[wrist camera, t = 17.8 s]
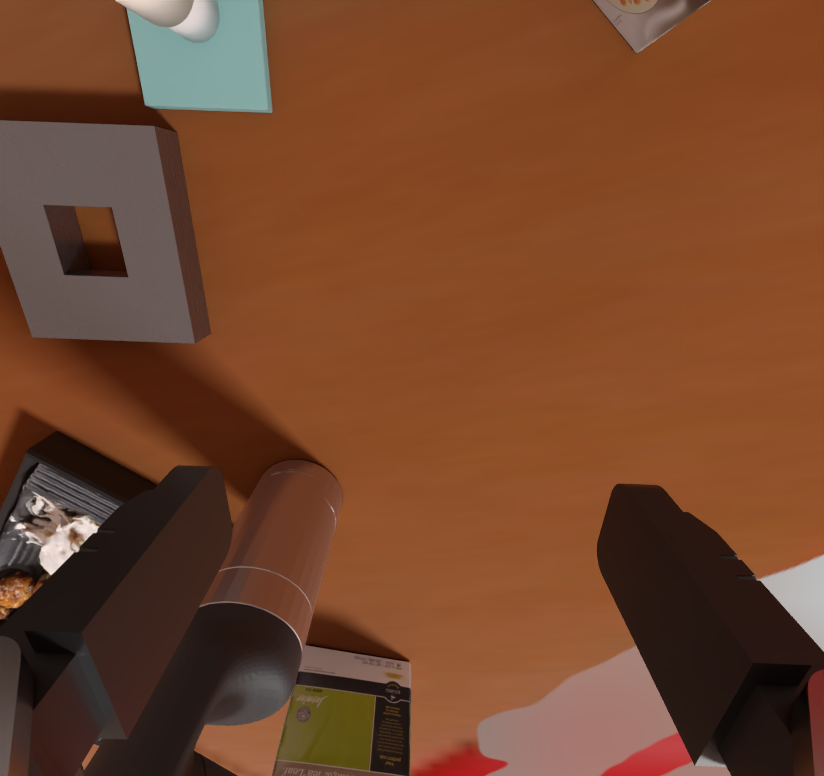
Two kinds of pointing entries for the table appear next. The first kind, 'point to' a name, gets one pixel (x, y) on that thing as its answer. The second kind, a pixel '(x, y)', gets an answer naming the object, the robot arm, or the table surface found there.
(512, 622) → the table surface
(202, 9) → the cream rounded tapered piece
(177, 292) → the socket block
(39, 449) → the food platter
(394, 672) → the tea box
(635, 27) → the coffee box
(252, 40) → the teal square tile
